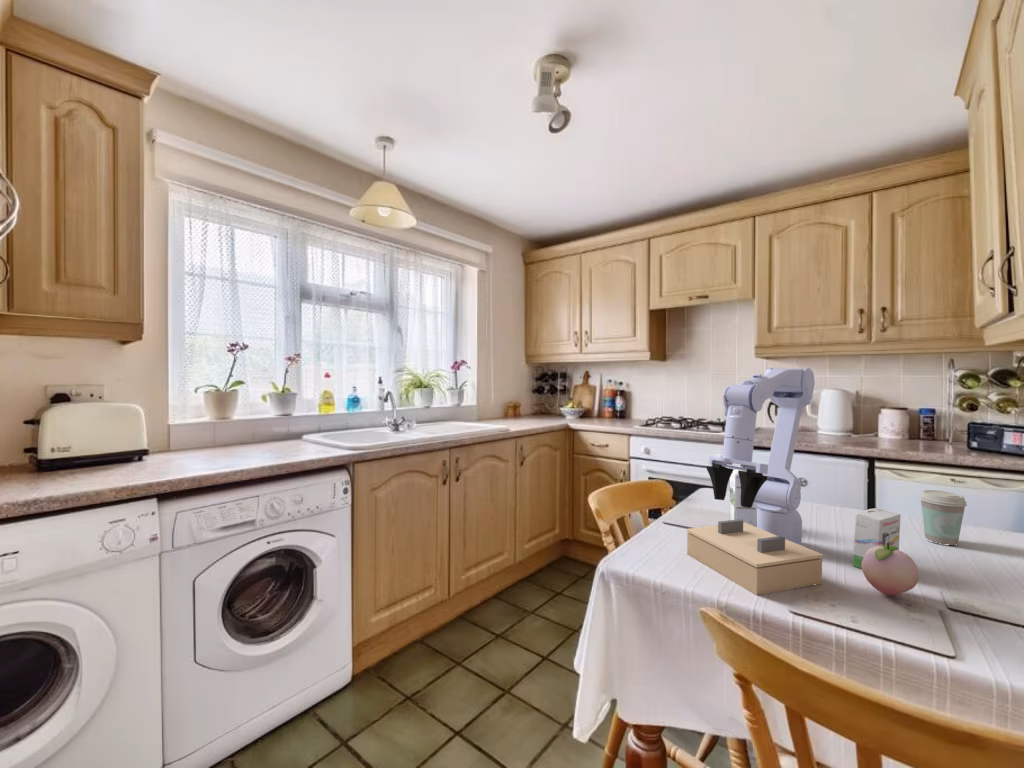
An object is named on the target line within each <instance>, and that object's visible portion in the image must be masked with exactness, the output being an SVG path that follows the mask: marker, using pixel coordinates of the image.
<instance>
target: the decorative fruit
mask: <svg viewBox="0 0 1024 768" xmlns="http://www.w3.org/2000/svg"><path fill="white" fill-rule="evenodd" d="M861 567H862V568H861V570H862V573H863V575H864V577H865V579H866V582H868V583H869V584H870V585H871V586H872V587H873V588H874V589H876V591H878V592H879V593H881V594H883V595H885V596H889V595H890V596H891V595H900V594H903V593H907V592H908V591H911V590H912V589H914V588H915V587H916V586H917V584H918V582H919V580H920V573H919V568H918V565H917V563H916V562H915V561H914V559H913V558H912V557H911V556H910V555H908V554H906V552H903V551H902V550H900V549H899V550H898V548H897V547H895V546H891V545H889V543H888V542H887V545H882V546H876V547H872V548H870V549H869V550H868V551H867V552H866V553H865V555H864V557H863V560H862V563H861Z"/></svg>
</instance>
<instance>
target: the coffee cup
mask: <svg viewBox="0 0 1024 768" xmlns="http://www.w3.org/2000/svg"><path fill="white" fill-rule="evenodd" d="M919 500H920V503H921V513H922V521H923V529H924V538H927V539H928V540H931V541H933V542H937V543H941V544H949V545H956V544H959V539H960V534H961V530H962V525H963V524H962V523H963V518H964V513H965V510H966V509H965V507H967V506H968V504H967V501H966V499H965V496H963V495H961V494H957V493H954V492H950V491H944V490H943V491H941V490H934V489H933V490H932V489H925V490H923V491H921V494H920V495H919Z"/></svg>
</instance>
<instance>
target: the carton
mask: <svg viewBox="0 0 1024 768" xmlns="http://www.w3.org/2000/svg"><path fill="white" fill-rule="evenodd" d="M686 533H687V539H686V540H687V541H686V544H687V547H686V548H687V549H686V555H687V556H690V557H691V558H693V559H695V560H697V561H698V562H699V563H701V564H702V565H703V564H704V565H705V566H706V567H708V568H710V569H712V570H713V571H715V572H716V573H718V574H720V575H722V576H723V577H725V578H727V579H728V580H730V581H732V582H734V583H735V584H737V585H738V586H740V587H742V588H744V589H745V590H747V591H748V592H750V593H752V594H754V595H755V596H760V595H767V594H773V593H777V592H784V591H788V590H790V591H791V590H795V589H794V588H797V589H799V588H798V587H802V588H805V587H804V586H808V587H810V586H809V585H814V584H820V585H822V584H823V582H822V581H823V580H822V579H823V578H822V577H823V576H822V575H823V558H818V559H811V560H804V561H797V562H791V563H784V564H777V565H770V566H764V567H757V568H756V567H754V566H752V565H750V564H748V563H747V562H745V561H743V560H741V559H739V558H737V557H735V556H733V555H731V554H729V553H727V552H725V551H723V550H722V549H720V548H718V547H716V546H714V545H712V544H710V543H708V542H706V541H704V540H702V539H700V538H698V537H696V536H695V535H693V534H691V533H689V532H686ZM821 583H822V584H821ZM814 586H815V585H814Z"/></svg>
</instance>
